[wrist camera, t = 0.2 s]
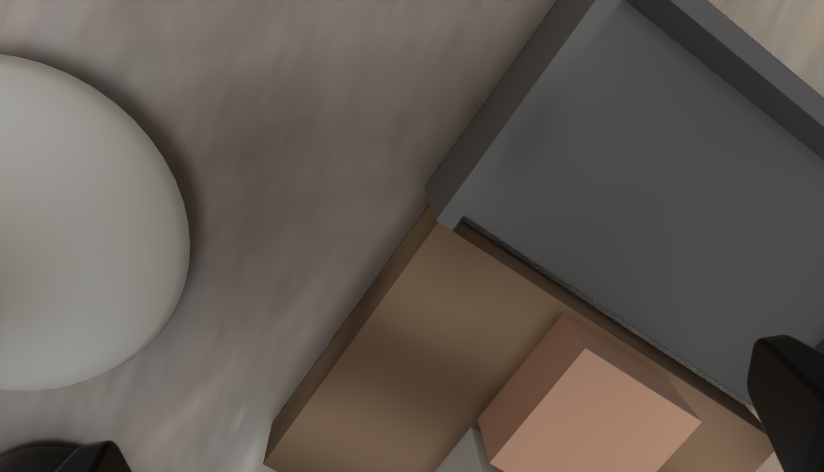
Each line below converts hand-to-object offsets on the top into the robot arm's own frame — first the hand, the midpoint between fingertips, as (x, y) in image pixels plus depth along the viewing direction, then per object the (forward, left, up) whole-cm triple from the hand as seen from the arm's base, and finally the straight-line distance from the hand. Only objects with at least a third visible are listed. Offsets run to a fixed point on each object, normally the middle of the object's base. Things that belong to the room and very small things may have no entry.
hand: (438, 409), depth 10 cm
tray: (+5, -10, -15) cm, 19 cm away
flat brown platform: (-6, -10, -15) cm, 19 cm away
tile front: (-3, -10, -13) cm, 16 cm away
